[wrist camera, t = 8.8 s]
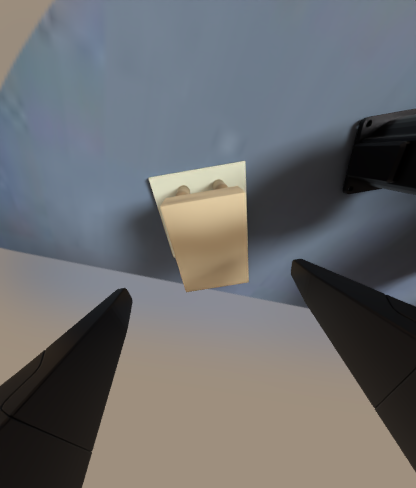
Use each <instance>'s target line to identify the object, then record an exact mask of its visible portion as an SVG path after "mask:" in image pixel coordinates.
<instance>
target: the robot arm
mask: <svg viewBox="0 0 416 488" xmlns="http://www.w3.org/2000/svg"><path fill="white" fill-rule="evenodd" d="M367 122H368V125H367V126H366V123H367ZM349 188H350V189H349ZM382 188H383V189H388V190H393V191H398V192H403V193H408V194H413V195H416V109H411V110H405V111H399V112H394V113H388V114H382V115H377V116H371V117H366V118H364V119H363V120H362V121H361V122H360V125H359V128H358V132H357V136H356V140H355V144H354V148H353V152H352V156H351V159H350V163H349V167H348V171H347V175H346V179H345V183H344V187H343V192H344V193H346V194H353V193H359V192H365V191H370V190H376V189H382ZM348 189H349V190H348ZM291 275H292V278H293V280H294V282H295V284H296V286H297V287H298V289H299V291H300V293H301V295H302V297H303V299H304V301H305V303H306V304H307V306H308V307H309V309H310V310H311V312H312V314H313V315H314V316H315V318H316V320H317V321H318V323H319V324H320V326H321V327H322V329H323V330H324V332H325V333H326V335H327V336H328V338H329V340H330V341H331V342H332V344H333V346H334V347H335V349H336V350H337V352H338V353H339V355H340V356H341V358H342V359H343V361H344V362H345V364H346V366H347V367H348V368H349V370H350V372H351V373H352V375H353V376H354V378H355V379H356V381H357V382H358V384H359V385H360V387H361V389H362V390H363V392H364V393H365V395H366V396H367V398H368V399H369V401H370V402H371V404H372V405H373V407H374V408H375V410H376V412H377V413H378V415H379V416H380V418H381V419H382V421H383V423H384V424H385V426H386V427H387V429H388V430H389V432H390V433H391V435H392V436H393V438H394V439H395V441H396V443H397V444H398V445H399V447H400V449H401V450H402V452H403V453H404V455H405V456H406V458H407V459H408V461H409V462H410V464H411V466H412V467H413V469H414V470H415V472H416V307H415V306H413V305H410V304H408V303H405V302H403V301H401V300H398V299H396V298H393V297H391V296H389V295H385V294H384V293H381V292H379V291H377V290H374V289H372V288H370V287H367V286H365V285H363V284H360V283H358V282H355V281H353V280H351V279H348V278H346V277H344V276H341V275H339V274H336V273H334V272H332V271H329V270H327V269H325V268H322V267H320V266H317V265H315V264H313V263H310V262H308V261H306V260H303V259H295V260H293V261H292V267H291ZM131 307H132V298H131V296H130V294H129V292H128V291H127V289H126V288H121V289H117V290H116V291H115V292H113V293H112V294H111V295H110V296H109V297H108V298H106V299H105V300H104V301H103V302H101V304H99V305H98V306H97V307H96V308H94V309H93V310H92V311H91V312H90V313H88V314H87V315H86V316H85V317H84V318H82V319H81V320H80V321H79V322H78V323H76V324H75V325H74V326H73V327H72V328H70V329H69V330H68V331H67V332H66V333H64V334H63V335H62V336H61V337H60V338H59V339H57V340H56V341H55V342H54V343H53V344H51V345H50V346H49V347H48V348H47V349H46V350H44V351H43V352H42V353H40V355H38V356H37V357H36V358H34V359H33V360H32V361H31V362H30V363H28V364H27V365H26V366H25V367H24V368H22V369H21V370H20V371H19V372H17V373H16V374H15V375H14V376H12V377H11V378H10V379H8V380H7V381H6V382H5V383H3V384H2V385H1V386H0V488H82V485H83V482H84V478H85V475H86V472H87V468H88V464H89V461H90V458H91V454H92V452H91V451H92V450H93V447H94V443H95V440H96V437H97V433H98V430H99V426H100V423H101V419H102V416H103V412H104V409H105V406H106V402H107V399H108V395H109V391H110V388H111V385H112V381H113V378H114V374H115V371H116V368H117V364H118V361H119V357H120V354H121V350H122V347H123V343H124V340H125V337H126V333H127V329H128V324H129V318H130V313H131Z"/></svg>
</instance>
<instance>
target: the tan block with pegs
mask: <svg viewBox="0 0 416 488" xmlns="http://www.w3.org/2000/svg"><path fill="white" fill-rule="evenodd" d="M212 187H213V190H210V191H204V192H198V193H192V194H190V189H189V188H188V187H187V186H185V185H182V186H180V187H179V188H178V191H177V193H176V195H175V196H174V197H168V198H165V200H164V201H163V203H162V204H161V206H160V208H161V212H162V215H163V218H164V221H165V225H166V228H167V231H168V234H169V238H170V241H171V244H172V248H173V251H174V254H175V257H176V261H177V264H178V267H179V271H180V274H181V277H182V280H183V284H184V287H185V290H186V292H190V291H197V290H203V289H209V288H216V287H222V286H228V285H234V284H241V283H247V282H249V277H248V246H247V216H246V192H245V191H244V190H242V189H241V188H240V187H239V186H233V187H228V186H227V185H226V184H225V183H224V182H223V181H222V180H220V179H217V180H215V181H214V182H213V185H212Z"/></svg>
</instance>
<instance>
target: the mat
mask: <svg viewBox="0 0 416 488" xmlns="http://www.w3.org/2000/svg"><path fill="white" fill-rule="evenodd" d="M217 179H220V180H222V181H223V182H224V183H225V184H226V185H227V186H228V187H233V186H239V187H240V188H241V189H242V190H244V191H245V192H246V171H245V161H241V162H235V163H230V164H224V165H218V166H212V167H207V168H201V169H195V170H189V171H184V172H178V173H172V174H166V175H161V176H155V177H150V178H149V181H150V184H151V188H152V191H153V194H154V197H155V200H156V204H157V207H158V210H159V213H160V216H161V219H162V223H163V226H164V229H165V232H166V235H167V238H168V242H169V245H170V248H171V251H172V254H173V257H175V254H174V251H173V248H172V244H171V241H170V238H169V234H168V231H167V228H166V225H165V221H164V218H163V215H162V212H161V208H160V206H161V204H162V203H163V201H164V200H165V198H168V197H174V196H175V195H176V193H177V191H178V188H179V187H180V186H182V185H185V186H187V187H188V188H189V189H190V194H192V193H198V192H204V191H210V190H213V187H212V185H213V182H214V181H215V180H217ZM246 216H247V201H246ZM247 245H248V231H247Z"/></svg>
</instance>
